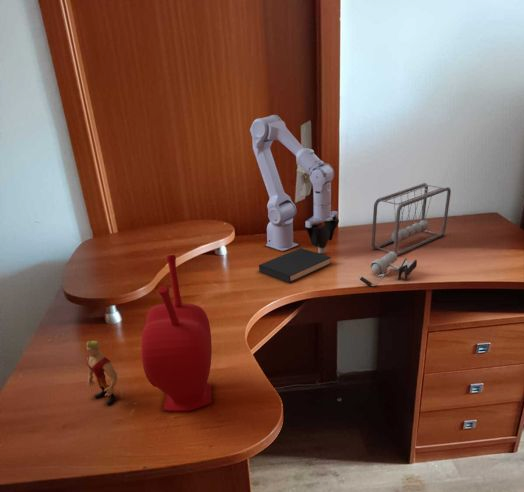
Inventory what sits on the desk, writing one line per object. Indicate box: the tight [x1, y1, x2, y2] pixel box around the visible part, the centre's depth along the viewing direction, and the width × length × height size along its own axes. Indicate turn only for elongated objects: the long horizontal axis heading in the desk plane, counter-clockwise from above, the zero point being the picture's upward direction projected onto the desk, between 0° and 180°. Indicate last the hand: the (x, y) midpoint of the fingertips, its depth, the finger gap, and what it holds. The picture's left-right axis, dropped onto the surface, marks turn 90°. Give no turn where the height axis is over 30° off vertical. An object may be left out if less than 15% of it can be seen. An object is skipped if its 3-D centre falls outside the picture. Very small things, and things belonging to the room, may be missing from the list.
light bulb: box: [317, 225, 330, 255], centre depth 176 cm, size 6×6×10 cm
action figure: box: [86, 340, 118, 406], centre depth 109 cm, size 10×4×15 cm, turn 51°
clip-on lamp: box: [358, 250, 418, 287], centre depth 157 cm, size 12×6×18 cm
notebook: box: [258, 247, 332, 284], centre depth 168 cm, size 14×20×2 cm
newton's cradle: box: [371, 182, 452, 256], centre depth 179 cm, size 30×10×18 cm, turn 130°
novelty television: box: [140, 254, 213, 413], centre depth 104 cm, size 21×13×30 cm, turn 4°
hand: (321, 242), depth 176 cm, fingers open, 7 cm apart
